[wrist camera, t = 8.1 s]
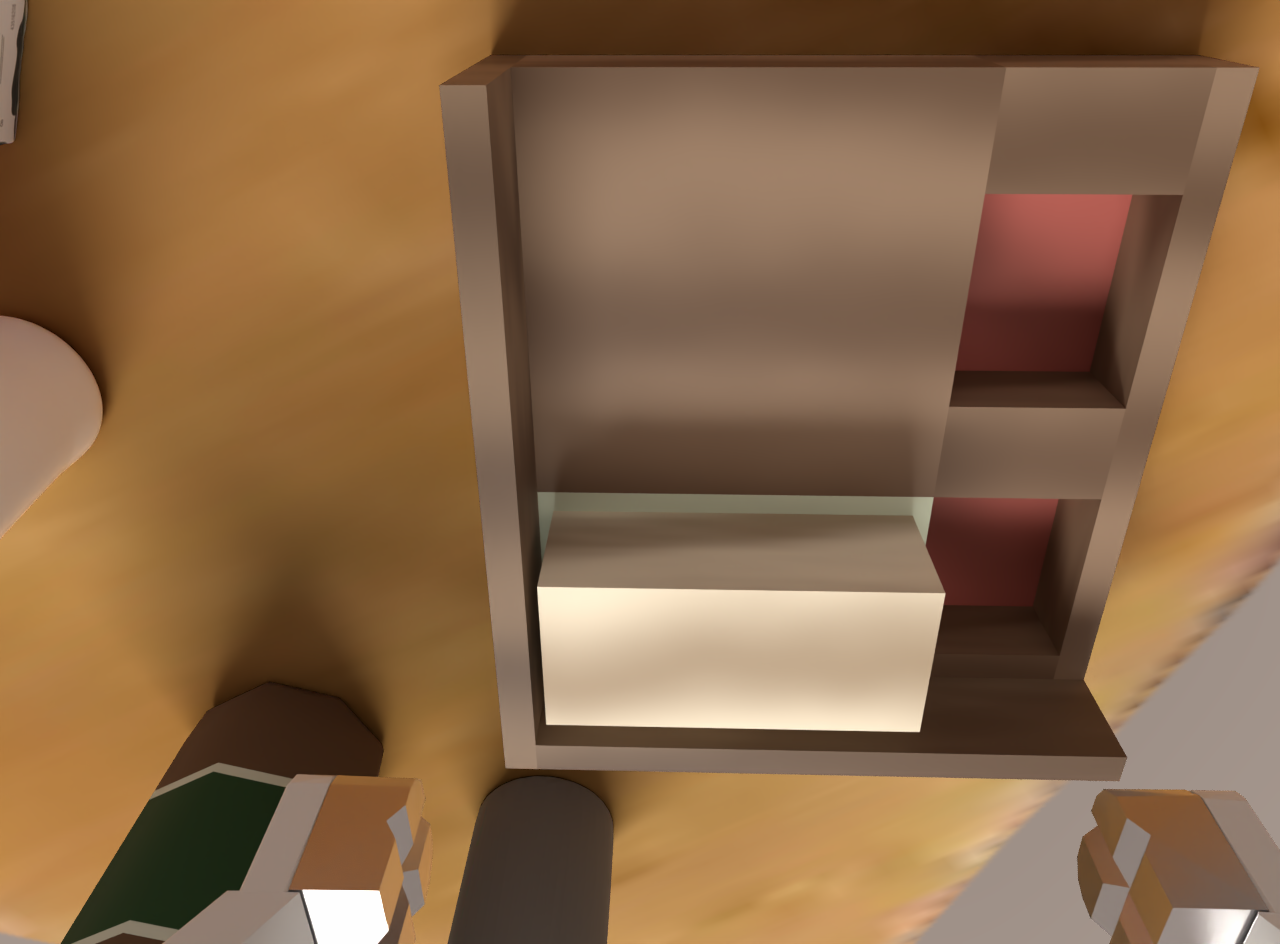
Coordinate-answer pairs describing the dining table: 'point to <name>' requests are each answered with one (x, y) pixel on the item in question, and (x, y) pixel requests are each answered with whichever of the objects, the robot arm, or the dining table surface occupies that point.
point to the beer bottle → (219, 809)
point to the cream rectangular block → (737, 620)
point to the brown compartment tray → (837, 348)
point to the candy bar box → (10, 64)
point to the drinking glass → (40, 413)
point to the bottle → (537, 867)
